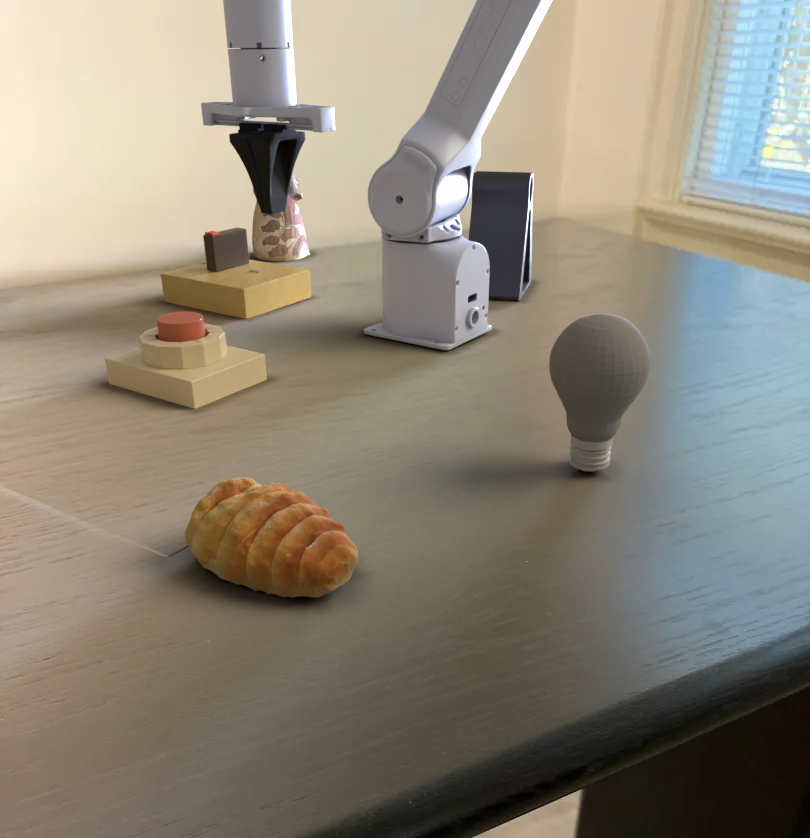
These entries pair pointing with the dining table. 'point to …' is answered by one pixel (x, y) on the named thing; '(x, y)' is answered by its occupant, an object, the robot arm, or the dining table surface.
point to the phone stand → (504, 229)
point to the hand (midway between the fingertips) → (273, 212)
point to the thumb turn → (226, 249)
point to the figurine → (280, 230)
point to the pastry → (270, 539)
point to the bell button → (180, 326)
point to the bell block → (186, 368)
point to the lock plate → (237, 288)
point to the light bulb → (597, 382)
